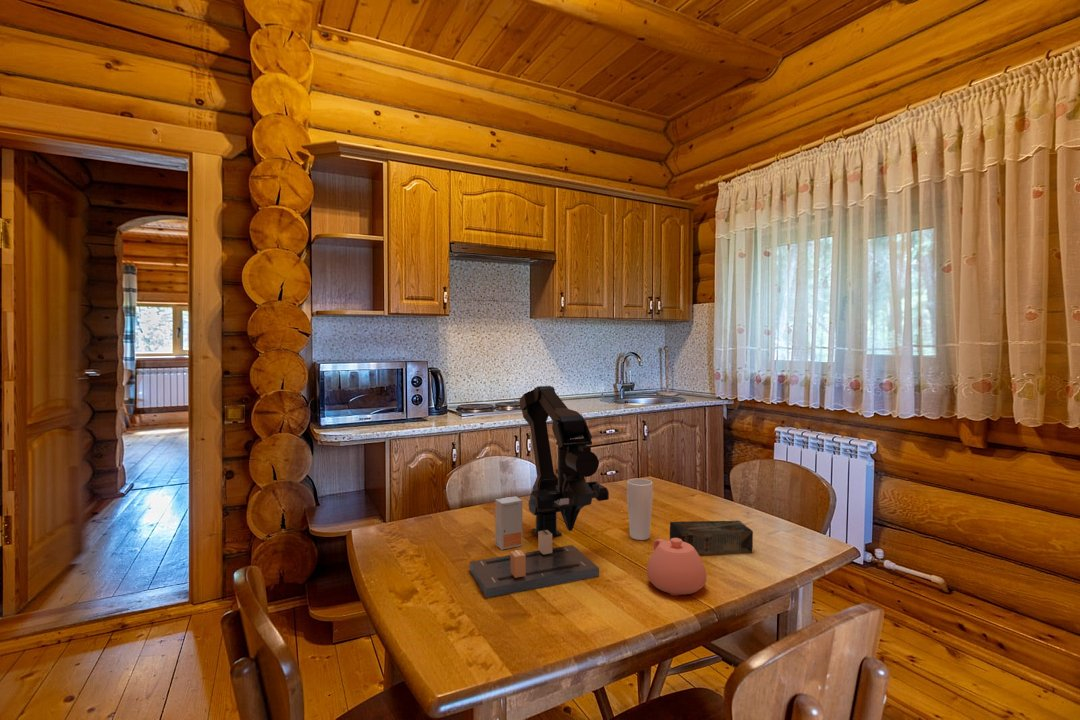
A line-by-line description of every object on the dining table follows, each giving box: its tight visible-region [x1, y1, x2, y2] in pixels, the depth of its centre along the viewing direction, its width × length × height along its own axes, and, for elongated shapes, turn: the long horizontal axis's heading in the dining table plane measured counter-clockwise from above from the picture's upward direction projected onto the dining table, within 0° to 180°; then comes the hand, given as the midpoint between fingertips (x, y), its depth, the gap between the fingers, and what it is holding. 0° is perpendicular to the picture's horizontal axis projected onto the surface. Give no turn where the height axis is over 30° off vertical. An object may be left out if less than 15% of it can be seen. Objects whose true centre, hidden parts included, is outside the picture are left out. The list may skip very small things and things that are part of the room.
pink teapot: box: [646, 538, 707, 597], centre depth 112 cm, size 12×14×10 cm
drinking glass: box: [626, 478, 654, 541], centre depth 139 cm, size 7×7×15 cm
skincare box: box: [494, 495, 524, 551], centre depth 134 cm, size 6×4×12 cm
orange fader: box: [509, 549, 526, 578], centre depth 112 cm, size 3×2×5 cm
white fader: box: [537, 530, 553, 554], centre depth 124 cm, size 3×2×5 cm
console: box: [468, 544, 600, 599], centre depth 118 cm, size 14×26×2 cm, turn 112°
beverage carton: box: [669, 520, 754, 556], centre depth 131 cm, size 8×19×7 cm, turn 95°
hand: (569, 530), depth 127 cm, fingers closed
